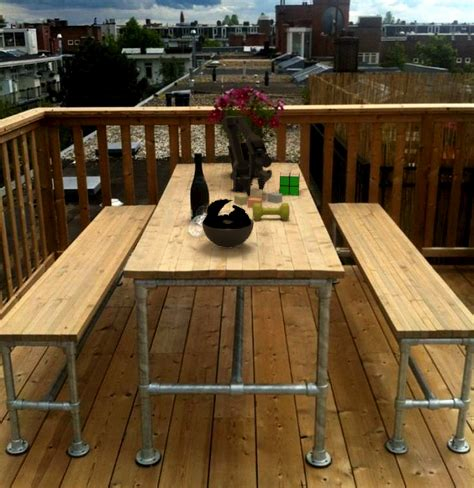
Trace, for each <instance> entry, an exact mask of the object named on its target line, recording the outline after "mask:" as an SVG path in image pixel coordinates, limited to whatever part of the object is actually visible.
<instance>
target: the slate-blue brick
mask: <svg viewBox="0 0 474 488" xmlns="http://www.w3.org/2000/svg"><path fill="white" fill-rule="evenodd" d="M267 202H268V203H274V204H279V203H282V202H283V195H282V194H279V193H278V192H275V191H271V192H269V193H267Z"/></svg>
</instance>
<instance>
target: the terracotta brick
mask: <svg viewBox="0 0 474 488" xmlns="http://www.w3.org/2000/svg"><path fill="white" fill-rule="evenodd" d="M254 203H260V204H261V206H262V207H263V198H262V197H261V198H252V197H248V198H247V208H251V209H253V205H254Z"/></svg>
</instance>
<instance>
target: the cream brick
mask: <svg viewBox="0 0 474 488" xmlns="http://www.w3.org/2000/svg"><path fill="white" fill-rule="evenodd" d="M260 197H261V198H262V197H263V191H262V190H261V189H259V188H258V187H257V188H256V187H251V190H250V196H248V195H247V198H260Z"/></svg>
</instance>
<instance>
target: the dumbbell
mask: <svg viewBox="0 0 474 488" xmlns="http://www.w3.org/2000/svg"><path fill="white" fill-rule="evenodd" d="M290 209H291V208H290V205H289V203H287V202H283V203H282V202H281V204H280V206H279V207H276V208H275V207H267V208H264V207H263V205H262V206H261V204H260V203H254V205H253V208H252V218H253V221H260V220H261V219H262V216H279V217H280V219H281V220H282V221H288V220H289V219H290Z"/></svg>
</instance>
